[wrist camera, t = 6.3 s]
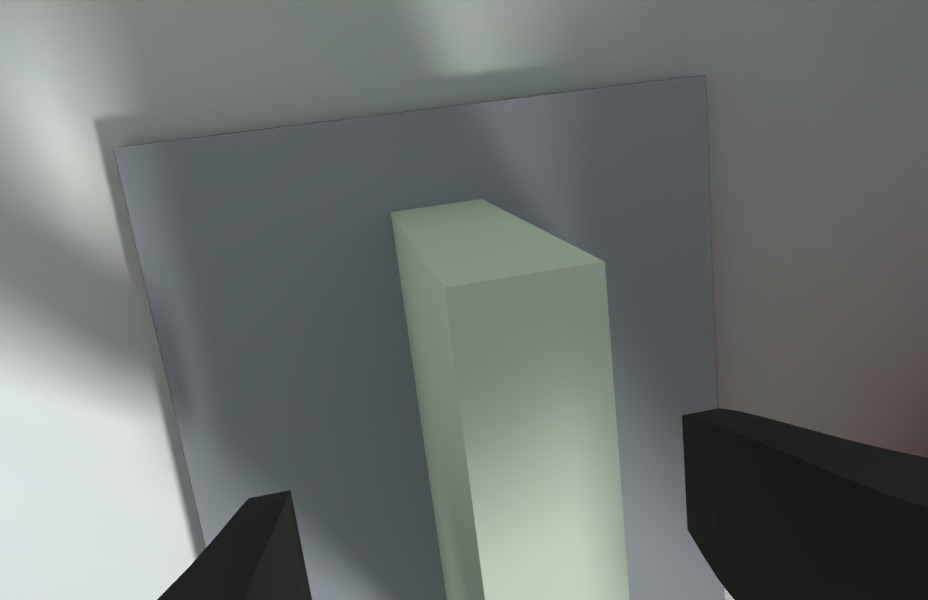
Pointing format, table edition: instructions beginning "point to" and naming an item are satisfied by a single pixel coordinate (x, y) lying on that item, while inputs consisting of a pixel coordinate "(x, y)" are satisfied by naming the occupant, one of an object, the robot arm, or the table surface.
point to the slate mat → (384, 321)
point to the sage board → (514, 404)
